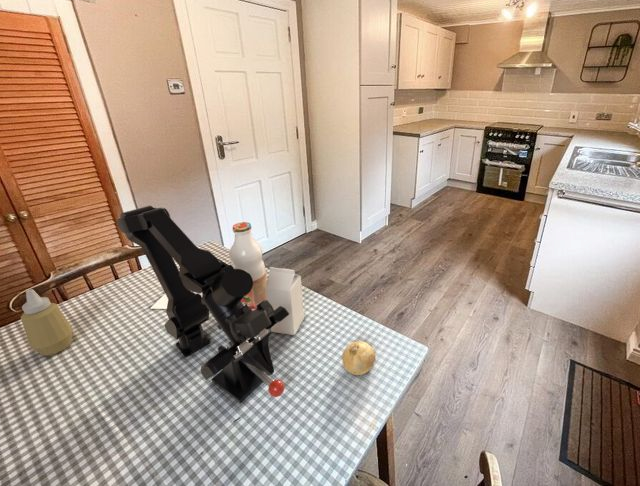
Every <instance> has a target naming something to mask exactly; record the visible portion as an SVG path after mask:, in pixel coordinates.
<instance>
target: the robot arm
mask: <svg viewBox="0 0 640 486" xmlns="http://www.w3.org/2000/svg"><path fill="white" fill-rule="evenodd" d="M119 215H120V217H119V218H117V219H116V225H117V228H118V229H119V230H120V232H121V233H122V234H124V235H125V236H126V238H127V240H128V241H130V242H132V243H134V244H135V245H137V246H139V247H141V249H142V251H143V254H144V255H145V257H146V259H147V261H148V263H149V264H150V267H151V268H152V270H153V272H154V274H155V276H156V278H157V280H158V282H159V284H160V286H161V287H162V290H163V292H164V294H166V296H167V298H168V304H167V309H165V310H166V311H165V313H166V315H167V317H168V319H167V321H166V322H165V323H164V325H163V327H164V328H165V330H166V333H167V334H168V335H170V336H171V337H172V338H174V340H176V341H177V340H178V341H177V342H175V346H176V348H177V349H178V351H179V352H180V353H181V355H182V356H183V357H184V358H188V357H190V356H191V355H193V354H194V353H196V352H198V351H201V350H202V349H203V348H205V347H208V346H209V345H211V340H210V339H209V338H208V337H207V335H205V333H204V329H203V324H204V323H206V322H208V321H209V320H210V314H211V315H212V317H213V318H214V320H215V321H216V322H217V324H218V325H217V328H218V330H219V331H221V330H222V331H223V333H224V335H225V336H226V337H227V339H228V340H229V341H228V344H229V345H230V346H232V347H230V348H229V349H228V350H226V349H225V348H226V347H225V348H224V349H223V350H222V351H220V352H218V353H215V355H214V356H212V357H211V358H210V359H208V360H207V361H205V363H202V365H201V366H200V374H201V375H202V377H203V379H204V380H205V381H208V380H209V379H212V378H213V377H215V376H216V375H217V374H218V373H219V372H221V371H222V369H223V368H224V367H226V366H227V365H228V364H229V363H230V362H231V358H232V357H233V356H234V357H235V358H236V359H235V360H234V362H237V361H239V360H240V361H243V362H245V363H248V364H250V365H252V366H254V367H256V368H258V369H259V370H261V371H263V372H265V373H266V374H268V375H269V376H272V375H273V374H274V373H275V368H274V364H273V361H272V356H271V352H270V345H269V344H270V343H269V342H270V336H271V335H272V334H273V332H272V331H271V327H273V326H274V325H275V324H276V323H277V322H280V321H282V320H283V319H284V318H285V317H287V316H288V315H289V312H288V311H287V310H286V308H284V307H282V306H279V307H278V308H277V309H275V310H274V309H273V307H272V305H271V304H270V303H269V302H268V300H263V301H262V302H261V303H259V304H258V305H257V308H256V309H255V310H251V309H250V307H249V306H247V304H246V305H245V306H244V305H243V304H242V303H241V300H242V299H243V298H244V297H245V296H246V295H247V294H248V293H249V292H250V291H251V289H252V287H253V279H252V277H251V275H250V274H249V273H247V272H246V271H244V270H242V269H234V268H233V266H232V265H233V264H232V263H231V264H227V263H226V262H225V261H223V260H221V259H220V258H218V257H217V256H216V255H214V254H213V253H212V252H211V251H210V250H208V249H207V250H206V249H203V248H199V247H198V246H197V245H196V244H195V243H194V242H193V241H192V240H191V238H189V237H188V236H187V234H186V233H185V232H184V231H183V230H182V229H181V228H180V226H178V224H177V223H176V222H175V221H174V219H172V218H171V214H170V212H169V211H168V209H166V208H165V207H163V206H162V207H154V206H152V205H145V206H142V207H139V208H135V209H131V210H127V211H125V212H121V213H120V214H119ZM177 265H178V266H179V268H178V266H177ZM194 292H196V293H197V294H195V293H194ZM198 293H199V294H198ZM200 293H202V296H201V295H200ZM268 330H270V332H269V331H268ZM242 338H244V339H245V341H243V342H242V343H241V344H240V343H239V342H241V339H242ZM251 343H252V344H251Z"/></svg>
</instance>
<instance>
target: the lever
mask: <svg viewBox="0 0 640 486" xmlns="http://www.w3.org/2000/svg"><path fill="white" fill-rule="evenodd" d="M230 347H232V346H230V344H229V345H227V346H226V348H227V349H229V348H230ZM235 359H236V358H235ZM242 362H243V361H242ZM243 363H244V364H245V365H246V366H247V367H248V368H249V369H250V370H251V371H253V372H254V373H255V374H256V375H257V376H258V377H259V378H260V379H261V380H262V381H263V382H262V383H265V384H266V385H267V386H268V390H267V391H268V394H269V395H270V396H271V398H278V397H281V395H283V393H284V391H285V383H284V382H283V381H282V379H279V378H278V379H272V377H270V375H269V376H268V375H267V374H266V373H265V372H263V371H261V370H259V369H258V368H256V367H254V366H252V365H250V364H248V363H245V362H243Z"/></svg>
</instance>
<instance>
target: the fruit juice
mask: <svg viewBox="0 0 640 486" xmlns="http://www.w3.org/2000/svg"><path fill="white" fill-rule="evenodd" d="M232 232H233V233H234V241H233V244H232V245H231V247H230V249H229V251H228V252H229V253H228V258H229V261H230V262H231V265H232V266H233V268H234V269H242V270H244V271H246V272H247V273H249V274H250V275H251V277H252V279H253V287H252V289H251V291H250V292H249V293H248V294H247V295H246V296H245V297H244V298H243V299H242V300H241V303H242V304H243V305H244V306H245V305H246V304H247V306H249V307H250V309H251V310H255V309H256V308H257V305H258V304H259V303H261V302H262V301H263V300H267V298H266V291H265V286H266V282H267V279H268V276H267V271H266V266H265V262H264V260H263V253H264V252H263V248H262V246H261V243H259V242H258V241H257V240H256V239H255V238H254V236H253V234H252V224H251V223H250V222H248V221H241V222H237V223H235V224H233V225H232Z"/></svg>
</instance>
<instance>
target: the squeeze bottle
mask: <svg viewBox="0 0 640 486" xmlns="http://www.w3.org/2000/svg"><path fill="white" fill-rule="evenodd" d="M25 297H26V302H25V303H24V304H23V305H22V306H21V309H22V311H23V313H22V314H21V316H20V320H21V324H22V327H23V330H24V332H25V333H24V334H25V336H26V339H27V342H28V345H29V347H30V349H32V350H33V351H35V352H36V353H38V354H40V355H41V356H45V357H47V356H52V355H55V354H58V353H60V352H62V351H64V350H65V349H67V348H68V347H69V346H70V345H71V344H72V341H73V332H74V331H73V330H74V328H73V327H72V325H71V324H70V322H69V320H68V319H67V318H66V316H65V315H64V313H63V312H62V310H61V308H60V307H59V305H58V304H57V303H54V302H51V300H50V299H49V297H47V296H40V295H39V294H38V293H37V292H36V291H35V290H34V289H33V288H29V289H27V290H25Z"/></svg>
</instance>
